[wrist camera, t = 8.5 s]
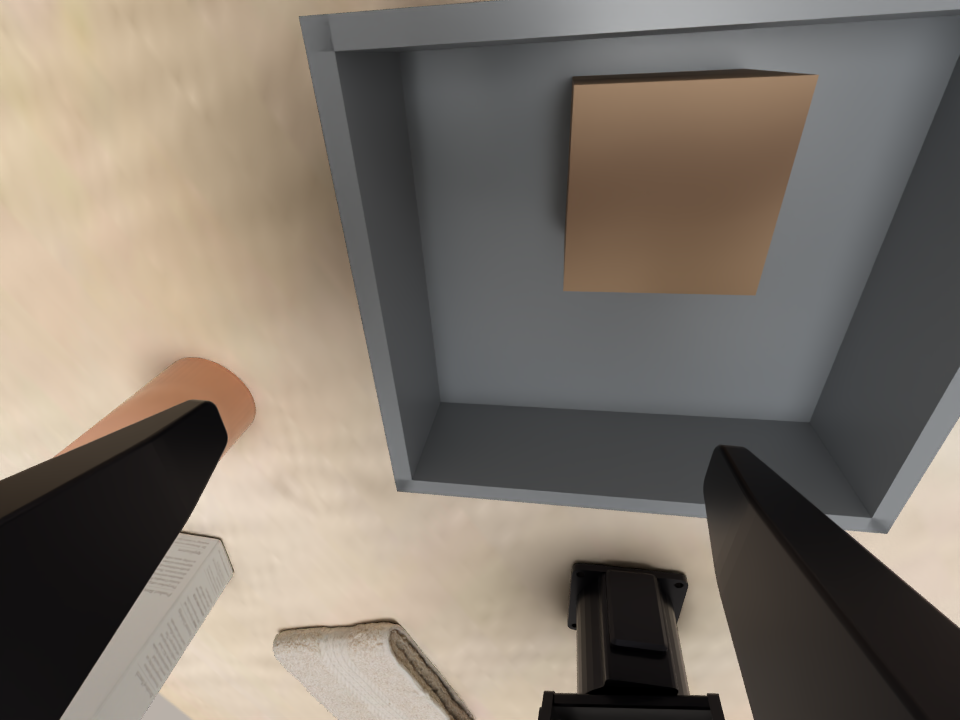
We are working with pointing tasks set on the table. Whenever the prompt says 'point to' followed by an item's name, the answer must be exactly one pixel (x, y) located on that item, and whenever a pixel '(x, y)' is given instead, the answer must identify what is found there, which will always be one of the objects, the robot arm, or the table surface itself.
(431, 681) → the washcloth
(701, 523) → the table surface
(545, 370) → the tote
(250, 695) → the table surface
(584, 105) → the cube
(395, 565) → the table surface
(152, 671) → the skincare box
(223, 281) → the table surface
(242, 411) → the cylinder
